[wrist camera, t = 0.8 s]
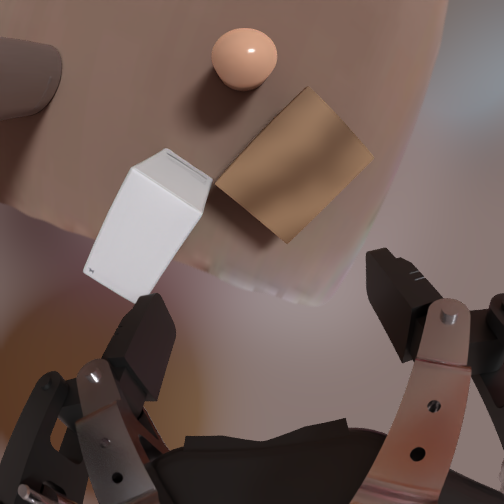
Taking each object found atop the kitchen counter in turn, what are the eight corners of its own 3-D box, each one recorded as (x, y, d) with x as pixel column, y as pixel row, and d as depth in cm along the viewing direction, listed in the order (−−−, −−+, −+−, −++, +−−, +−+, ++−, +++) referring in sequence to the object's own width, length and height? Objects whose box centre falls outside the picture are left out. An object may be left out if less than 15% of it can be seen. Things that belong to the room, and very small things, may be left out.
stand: (218, 174, 28) (214, 184, 24) (298, 90, 24) (308, 86, 20) (281, 228, 31) (287, 244, 27) (358, 151, 27) (374, 157, 23)
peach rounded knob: (206, 70, 22) (198, 59, 17) (241, 36, 21) (242, 17, 16) (245, 100, 24) (246, 96, 19) (279, 66, 23) (290, 54, 17)
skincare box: (166, 253, 31) (141, 310, 22) (120, 223, 29) (79, 271, 20) (216, 180, 28) (205, 215, 19) (165, 146, 26) (127, 164, 17)
